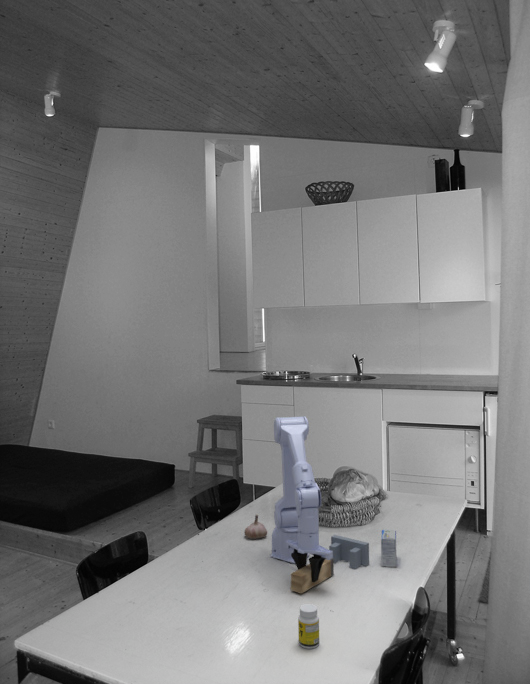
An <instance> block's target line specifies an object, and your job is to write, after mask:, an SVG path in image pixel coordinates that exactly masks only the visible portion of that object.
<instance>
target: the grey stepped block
mask: <svg viewBox="0 0 530 684" xmlns="http://www.w3.org/2000/svg"><path fill="white" fill-rule="evenodd" d="M330 541H331V542H330V543H331V544H330V545H328V547H329V548H328V550H331V551H333V558H332V559H334V565H335V564H337V563H338V562H341V561H344V562H348V563H349V564H348V565H349V568H350V569H354V570H357V569H359V568H360V567H362V566H363V567H367V566H369V565H370V543H369V542H367V541H362V540H358V539H354V538H349V537H345V536H341V535H337V534H333V535H331V537H330ZM359 566H360V567H359Z"/></svg>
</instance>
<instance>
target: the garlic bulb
mask: <svg viewBox="0 0 530 684" xmlns="http://www.w3.org/2000/svg"><path fill="white" fill-rule="evenodd" d="M254 517H255V518H254V522H252V523H251V524H250V525H249V526H246V527H245V529H244V532H243V533H244V536H245V537H246V538H247V539H250V540H255V539H260V538H262V539H263V538H265V537H266V536H267V535H268V531H267V528H266V527H265V525H264V524H263V523H262V522H259V521H258V520H259V515H258V514H257V513H256V514H255V516H254Z"/></svg>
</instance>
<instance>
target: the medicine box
mask: <svg viewBox="0 0 530 684" xmlns="http://www.w3.org/2000/svg"><path fill="white" fill-rule="evenodd" d="M380 537H381V538H380V549H381V551H380V552H381V553H380V557H381V558H380V559H381V561H380V562H381V567H383V566H386V567H385V568H397V562H398V561H397V530H395V529H394V530H393V529H382V530H381V536H380Z"/></svg>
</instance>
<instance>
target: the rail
mask: <svg viewBox="0 0 530 684" xmlns="http://www.w3.org/2000/svg"><path fill="white" fill-rule="evenodd" d="M334 565H335V564H334V559H330V560H326V559H325V560H324V562H323V564H322V567H321V570H320V573H319V578H318V580H317V581H316V582H312V577H311V566H310V563H308V564H306V566H304V567H303V568H301V569H299V570H298V569H296V570H295V571H293V572H291V573H290V591H293V592H295V593H299V594H304V593H305V592H307V591H309V590H310V589H311V588H313V587H315V586H317V585H318V584H320V583H323V582H324V581H326V580H327V579H329V578H331V577H332V576H334V575H335V574H334V569H335V568H334V567H335V566H334Z"/></svg>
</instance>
